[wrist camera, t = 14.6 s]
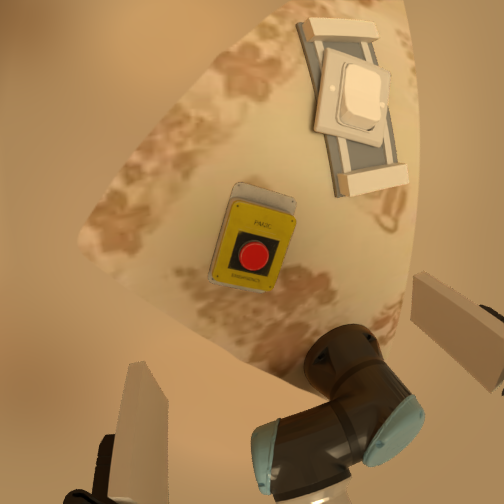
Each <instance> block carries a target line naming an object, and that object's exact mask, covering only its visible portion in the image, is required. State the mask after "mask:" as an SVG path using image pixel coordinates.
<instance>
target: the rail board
mask: <svg viewBox="0 0 504 504" xmlns="http://www.w3.org/2000/svg"><path fill="white" fill-rule="evenodd" d="M296 27H297V31H298V34H299V37H300V40H301V44H302V47H303V51H304V54H305V58H306V61H307V65H308V68H309V72H310V76H311V80H312V84H313V88H314V92H315V96H316V100H317V104H318V97H319V90H320V83H321V75H322V68H323V60H324V52H325V49H326V48H331V49H334V50H337V51H340V52H343V53H346V54H348V55H351V56H354V57H357V58H359V59H362V60H364V61H367V62H369V63H372V64H374V65H377V66H378V62H377V59H376V55H375V52H374V48H373V45H372V42H374V41H376V40H378V39H380V37H379V34H378V31H377V28H376V25H375V22H371V21H363V20H352V19H338V18H308V19H307V20H306V21H305V22H304V23H297V24H296ZM342 123H343V122H342ZM350 126H351V125H350ZM357 128H358V127H357ZM360 129H361V128H360ZM370 130H371V129H368V130H367V131H370ZM324 137H325V141H326V147H327V152H328V157H329V163H330V168H331V174H332V180H333V186H334V192H335V197H337V198H339V197H343V196H349V197H352V196H356V195H360V194H365V193H369V192H373V191H377V190H382V189H386V188H390V187H395V186H399V185H403V184H408V183H409V177H408V168H407V164H403V163H398V161H397V154H396V147H395V140H394V134H393V129H392V123H391V118H390V112H389V108H388V107H387V115H386V122H385V129H384V136H383V142H382V145H381V147H379V148H377V147H373V146H370V145H366V144H363V143H359V142H356V141H352V140H348V139H344V138H341V137H337V136H333V135H328V134H324Z"/></svg>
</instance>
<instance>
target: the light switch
mask: <svg viewBox="0 0 504 504" xmlns="http://www.w3.org/2000/svg"><path fill="white" fill-rule="evenodd" d="M390 80H391V74H390V71H388V70H386V69H384V68H381V67H379V66H377V65H374V64H372V63H369V62H367V61H364V60H362V59H359V58H357V57H354V56H351V55H348V54H346V53H343V52H340V51H337V50H334V49H331V48H326V49H325V52H324V60H323V68H322V75H321V83H320V90H319V97H318V104H317V111H316V117H315V124H314V131H315V132H320V133H324V134H328V135H333V136H337V137H341V138H344V139H348V140H352V141H356V142H359V143H363V144H366V145H370V146H373V147H377V148H379V147H381V145H382V142H383V136H384V129H385V122H386V115H387V107H388V99H389V90H390ZM342 122H343V123H342ZM350 125H351V126H350ZM357 127H358V128H357ZM360 128H361V129H360ZM368 129H371V130H370V131H367V130H368Z"/></svg>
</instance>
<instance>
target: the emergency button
mask: <svg viewBox="0 0 504 504" xmlns="http://www.w3.org/2000/svg"><path fill="white" fill-rule="evenodd" d="M295 209H296V200H295V199H294V198H292V197H289V196H286V195H283V194H280V193H277V192H273V191H270V190H267V189H263V188H260V187H257V186H253V185H250V184H247V183H243V182H238V183H236V184H235V185H234V187H233V189H232V192H231V196H230V199H229V203H228V206H227V209H226V213H225V216H224V220H223V223H222V226H221V230H220V233H219V237H218V241H217V244H216V248H215V251H214V255H213V258H212V262H211V266H210V269H209V273H208V280H209V282H210V283H212V284H216V285H221V286H226V287H231V288H236V289H240V290H245V291H251V292H256V293H264V292H266V291H271V290H272V289H273V288H274V286H275V283H276V280H277V277H278V275H279V272H280V269H281V266H282V263H283V260H284V258H285V255H286V252H287V249H288V246H289V243H290V240H291V237H292V234H293V232H294V229H295V226H296V219H295V217H294V216H293V215H294V212H295Z"/></svg>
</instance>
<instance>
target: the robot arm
mask: <svg viewBox="0 0 504 504" xmlns="http://www.w3.org/2000/svg"><path fill="white" fill-rule="evenodd" d="M410 320H411V321H412V322H413V323H414V324H415V325H417V326H418V327H419V328H420V329H421V330H422V331H423V332H425V333H426V334H427V335H428V336H429V337H430V338H431V339H432V340H434V341H435V342H436V343H437V344H438V345H439V346H440V347H442V348H443V349H444V350H445V351H446V352H447V353H448V354H449V355H450V356H451V357H452V358H454V359H455V360H456V361H457V362H458V363H459V364H460V365H461V366H462V367H463V368H465V370H467V371H468V372H469V373H470V374H471V375H472V376H473V377H474V378H475V379H476V380H477V381H478V382H479V383H480V384H481V385H482V386H483V387H484V388H486V390H487V391H488V392H489V393H491V394H492V393H493V392H494V391H495V390H496V389H497V388H498V387H499V386H500V385H501V384H502V382H503V380H504V317H503V316H502V315H500V314H498V312H496V311H494V310H493V309H492V308H490V307H486V306H484V305H479V306H478V305H477V304H475V303H474V302H472V301H471V300H469V299H468V298H466V297H465V296H463V295H461V294H460V293H459V292H457V291H455V290H454V289H452V288H451V287H449V286H447V285H446V284H444V283H443V282H441V281H439V280H438V279H436V278H435V277H433V276H431V275H430V274H428V273H427V272H425V271H423V272H421V273H418V274H416V275H414V276H413V292H412V308H411V319H410ZM304 371H305V375H306V377H307V379H308V381H309V382H310V384H311V385H312V386H313V387H314V388H315V389H316V390H318V391H319V392H320V393H321V394H323V395H324V396H325V397H327V398H328V399H329V400H330V401H329V402H327V403H324V404H322V405H319V406H316V407H314V408H311V409H308V410H306V411H303V412H300V413H297V414H294V415H291V416H288V417H285V418H282V419H281V418H278V419H277V420H276V421H273V422H270V423H267V424H264V425H262V426H259V427H257V428H256V429H255V430H254V431H253V433H252V437H251V454H252V462H253V468H254V473H255V477H256V481H257V483H258V487H259V490H260V492H261V493H262V494H264V495H271V493H272V494H273V497H274V499H275V502H276V504H351V501H350V499H349V497H348V494H347V492H346V489H347V486H348V484H349V482H350V480H351V478H352V476H351V473H350V471H349V468H348V467H349V466H352V465H354V464H356V463H358V462H360V461H363V464H365V465H366V466H368V467H374V466H376V465H381V464H383V463H385V462H386V461H388V460H390V459H391V458H393V457H394V456H396V455H397V454H398V453H400V452H401V451H402V450H403V449H404V448H405V447H406V446H407V445H408V444H409V443H410V442H411V441H412V440H413V439H414V438H415V437H416V435H417V434H418V433H419V431H420V429H421V428H422V426H423V423H424V420H425V413H424V410H423V408H422V407H421V405H420V404H419V403H418V401H417V399H416V397H415V395H413V394H412V393H411V392H410V391H409V390H408V389H407V387H406V386H405V385H404V384H403V383H402V382H401V380H400V379H399V378H398V377H397V376H396V375H395V373H394V372H393V371H392V370H391V369H390V368H389V367H388V366H387V364H386V363H385V362H384V359H383V356H382V353H381V350H380V347H379V344H378V341H377V339H376V337H375V336H374V335H373V334H372V333H371V332H370V330H369V329H367V328H366V327H364V326H362V325H356V324H351V325H345V326H341V327H339V328H336V329H334V330H332V331H330V332H329V333H327V334H325V335H324V336H323V337H322V338H320V339H319V340H318V341H317V342H316V343H315V344H314V345H313V347H312V348H311V349H310V351H309V353H308V354H307V357H306V359H305V363H304ZM503 395H504V389H503V391H502V396H503ZM96 465H97V466H96V467H95V474H94V481H93V488H92V494H90V493H89V492H87V491H85V490H82V489H76V490H73V491H71V492H69V493H68V494H67V495H66V497H65V499H64V501H63V504H169V492H168V399H167V398H166V396H165V395H164V393H163V391H162V390H161V388H160V387H159V385H158V383H157V382H156V380H155V378H154V377H153V375H152V373H151V371H150V370H149V368H148V366H147V365H146V363H145V361H141V362H137V363H132V364H129V368H128V372H127V377H126V381H125V386H124V390H123V395H122V400H121V405H120V411H119V416H118V422H117V428H116V434H109V435H105V436H104V438H103V440H102V441H101V443H100V445H99V450H98V458H97V461H96Z"/></svg>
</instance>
